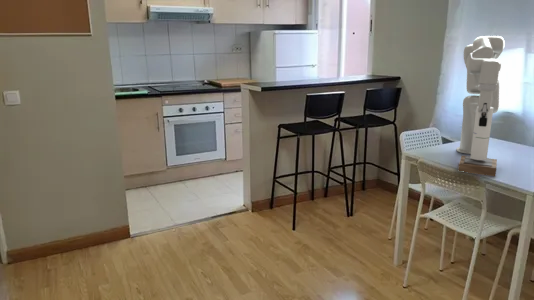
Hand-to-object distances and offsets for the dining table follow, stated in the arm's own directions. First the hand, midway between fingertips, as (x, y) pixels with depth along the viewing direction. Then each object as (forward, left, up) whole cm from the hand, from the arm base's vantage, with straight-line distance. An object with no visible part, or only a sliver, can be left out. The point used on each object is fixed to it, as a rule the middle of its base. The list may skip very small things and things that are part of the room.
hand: (482, 124), depth 199 cm
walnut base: (0, 0, -23) cm, 23 cm away
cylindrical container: (0, 0, -17) cm, 17 cm away
